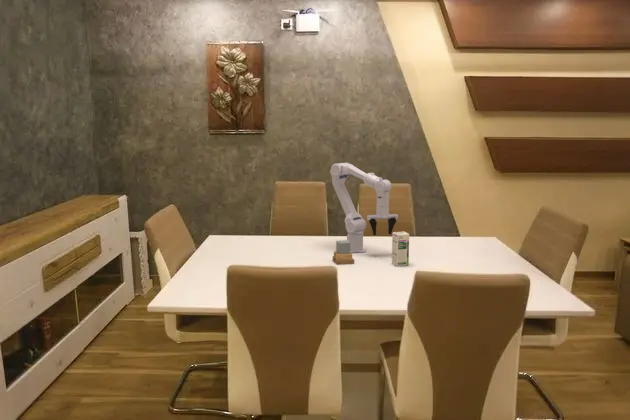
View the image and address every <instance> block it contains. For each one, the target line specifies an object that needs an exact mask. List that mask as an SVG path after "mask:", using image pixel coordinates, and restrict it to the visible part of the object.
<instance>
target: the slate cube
mask: <svg viewBox="0 0 630 420" xmlns="http://www.w3.org/2000/svg"><path fill="white" fill-rule="evenodd" d="M335 251H336V252H337V253H339V254H350V242H349V241H347V239H346V240H345V239H344V240H336V241H335Z"/></svg>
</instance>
